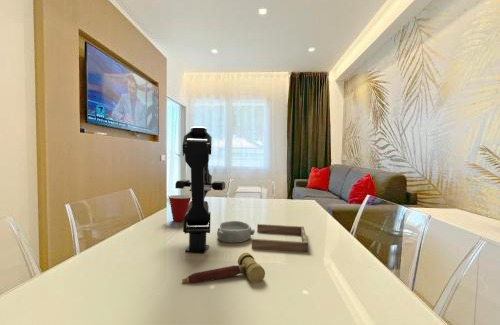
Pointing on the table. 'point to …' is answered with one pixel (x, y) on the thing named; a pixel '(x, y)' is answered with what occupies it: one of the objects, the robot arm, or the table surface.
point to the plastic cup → (179, 206)
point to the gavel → (231, 271)
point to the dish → (234, 231)
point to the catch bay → (278, 243)
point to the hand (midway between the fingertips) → (200, 206)
